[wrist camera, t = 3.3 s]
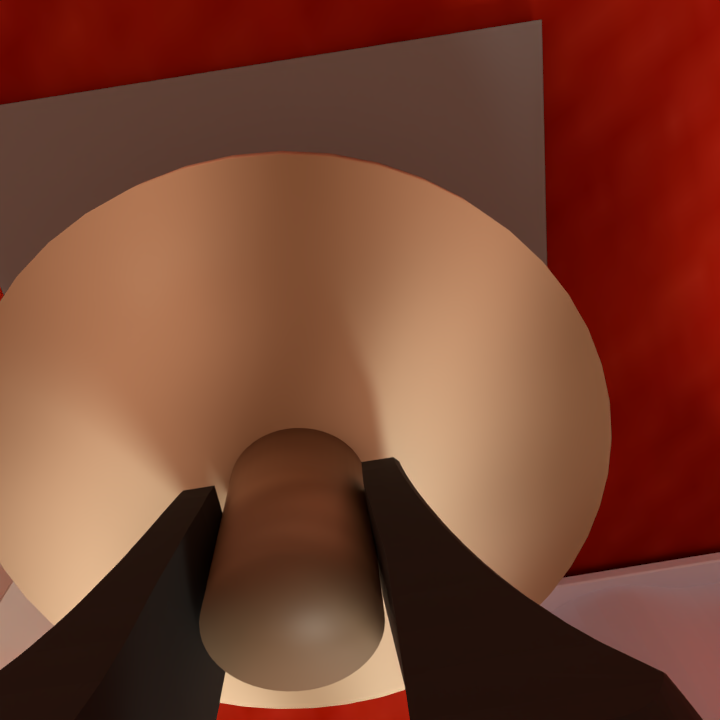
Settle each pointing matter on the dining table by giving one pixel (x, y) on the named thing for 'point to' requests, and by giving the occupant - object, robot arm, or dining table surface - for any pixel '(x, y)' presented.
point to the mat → (292, 130)
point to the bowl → (17, 621)
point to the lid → (293, 404)
